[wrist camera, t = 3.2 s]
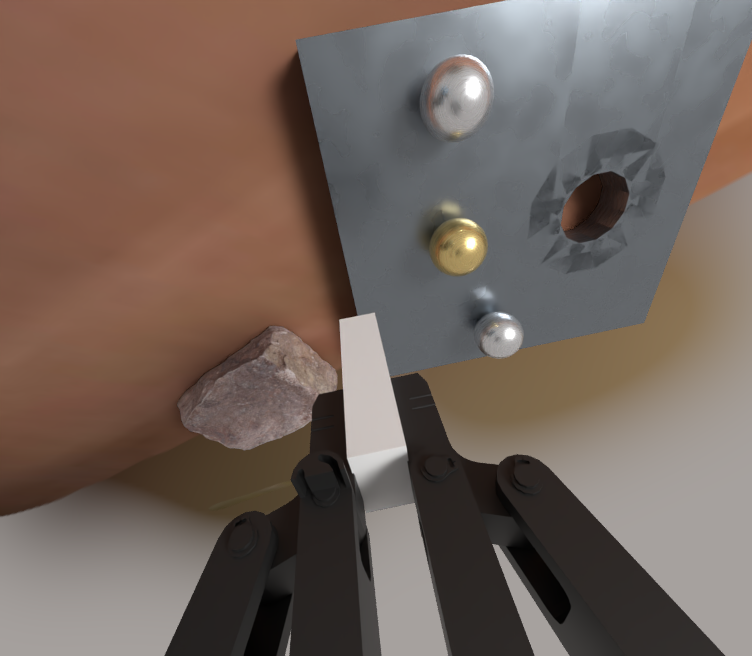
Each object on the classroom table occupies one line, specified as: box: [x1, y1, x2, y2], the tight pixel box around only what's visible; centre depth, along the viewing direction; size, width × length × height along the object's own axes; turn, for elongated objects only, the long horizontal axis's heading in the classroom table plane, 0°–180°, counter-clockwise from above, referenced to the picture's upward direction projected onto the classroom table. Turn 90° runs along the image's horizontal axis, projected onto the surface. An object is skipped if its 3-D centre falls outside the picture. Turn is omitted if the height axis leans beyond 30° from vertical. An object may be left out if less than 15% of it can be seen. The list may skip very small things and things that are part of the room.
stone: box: [177, 326, 337, 450], centre depth 28 cm, size 9×12×5 cm
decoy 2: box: [474, 312, 524, 358], centre depth 24 cm, size 4×4×4 cm
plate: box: [296, 0, 752, 376], centre depth 23 cm, size 24×22×2 cm
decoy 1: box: [420, 54, 494, 143], centre depth 16 cm, size 4×4×4 cm
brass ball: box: [429, 218, 488, 276], centre depth 20 cm, size 4×4×4 cm
